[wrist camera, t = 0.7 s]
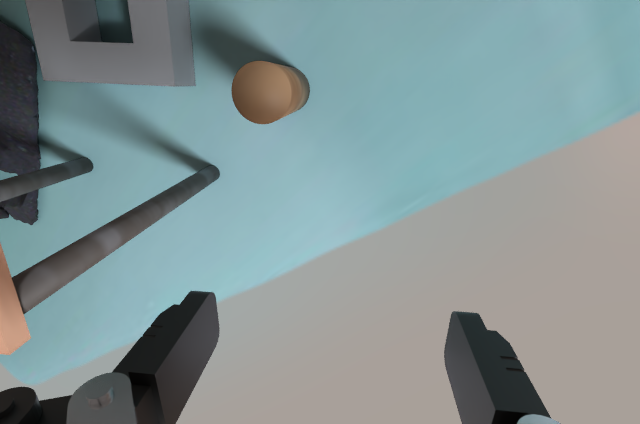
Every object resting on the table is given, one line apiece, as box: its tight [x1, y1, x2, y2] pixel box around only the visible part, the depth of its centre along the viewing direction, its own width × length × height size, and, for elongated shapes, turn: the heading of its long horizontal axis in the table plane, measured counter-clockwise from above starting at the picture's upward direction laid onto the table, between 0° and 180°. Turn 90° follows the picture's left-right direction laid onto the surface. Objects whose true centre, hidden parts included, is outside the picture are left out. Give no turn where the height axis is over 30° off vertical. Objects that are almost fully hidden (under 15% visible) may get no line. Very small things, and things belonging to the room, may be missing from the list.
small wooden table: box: [0, 157, 220, 355], centre depth 24 cm, size 9×16×24 cm, turn 88°
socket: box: [25, 0, 196, 86], centre depth 30 cm, size 12×12×4 cm
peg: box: [232, 61, 310, 124], centre depth 28 cm, size 4×4×10 cm
